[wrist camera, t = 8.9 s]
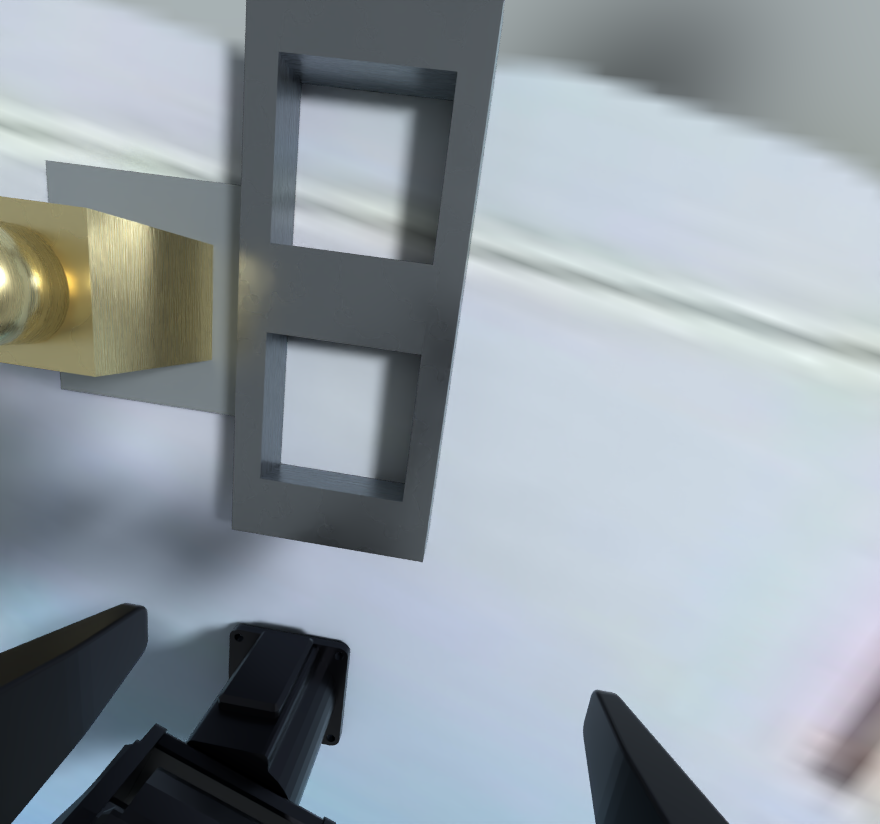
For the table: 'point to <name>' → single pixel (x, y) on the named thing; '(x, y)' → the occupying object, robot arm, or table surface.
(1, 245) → the brass cube with knob
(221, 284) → the mat
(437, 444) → the rectangular frame with openings
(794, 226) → the table surface
